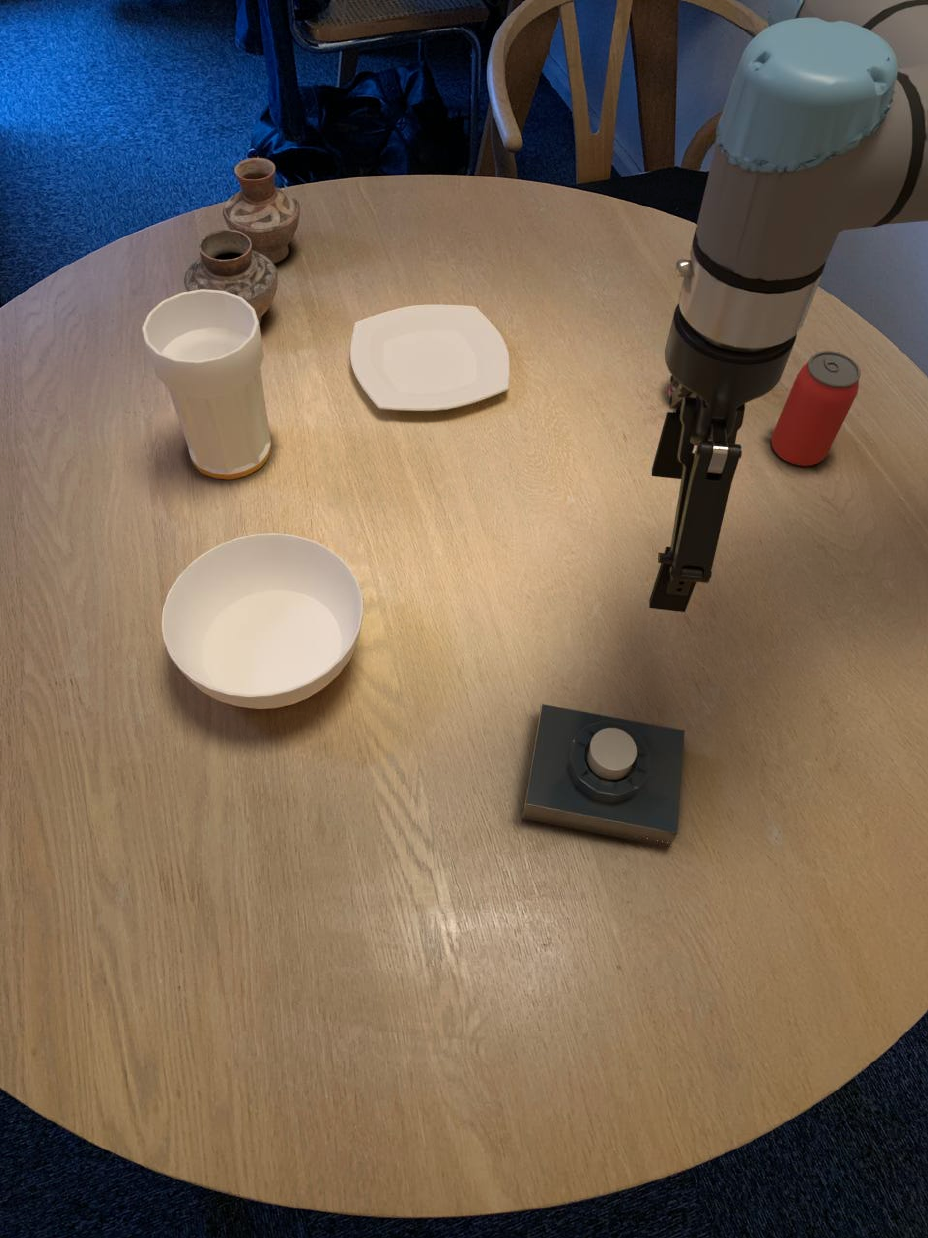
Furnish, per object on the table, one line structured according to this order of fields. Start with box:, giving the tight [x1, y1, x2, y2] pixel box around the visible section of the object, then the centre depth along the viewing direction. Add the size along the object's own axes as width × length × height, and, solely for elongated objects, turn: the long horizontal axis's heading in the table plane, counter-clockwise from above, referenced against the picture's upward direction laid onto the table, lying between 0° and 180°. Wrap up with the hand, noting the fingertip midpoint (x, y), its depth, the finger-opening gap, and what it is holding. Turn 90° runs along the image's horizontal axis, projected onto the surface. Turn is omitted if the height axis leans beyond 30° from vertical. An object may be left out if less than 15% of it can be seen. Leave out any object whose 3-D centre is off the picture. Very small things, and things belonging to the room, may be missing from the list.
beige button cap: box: [587, 728, 637, 780], centre depth 80 cm, size 4×4×2 cm
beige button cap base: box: [522, 703, 685, 848], centre depth 82 cm, size 13×10×5 cm
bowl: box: [161, 532, 365, 710], centre depth 88 cm, size 18×18×7 cm
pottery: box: [183, 157, 301, 325], centre depth 118 cm, size 11×25×12 cm, turn 173°
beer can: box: [770, 350, 862, 467], centre depth 104 cm, size 7×7×12 cm
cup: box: [141, 289, 273, 480], centre depth 99 cm, size 11×11×17 cm
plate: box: [349, 304, 511, 412], centre depth 114 cm, size 19×19×2 cm
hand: (667, 537), depth 74 cm, fingers open, 13 cm apart
